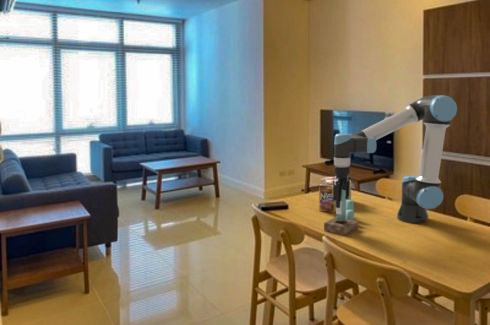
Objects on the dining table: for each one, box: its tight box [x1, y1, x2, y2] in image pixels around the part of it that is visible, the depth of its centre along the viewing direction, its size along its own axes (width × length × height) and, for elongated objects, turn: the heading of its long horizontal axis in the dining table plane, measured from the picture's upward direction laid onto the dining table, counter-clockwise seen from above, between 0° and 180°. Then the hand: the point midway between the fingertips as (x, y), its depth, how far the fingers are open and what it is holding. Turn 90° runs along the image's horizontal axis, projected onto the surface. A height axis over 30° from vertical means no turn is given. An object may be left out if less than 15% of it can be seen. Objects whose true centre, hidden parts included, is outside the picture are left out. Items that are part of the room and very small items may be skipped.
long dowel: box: [336, 190, 346, 221], centre depth 204 cm, size 4×4×15 cm
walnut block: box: [323, 216, 359, 236], centre depth 206 cm, size 12×12×4 cm
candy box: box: [318, 183, 336, 213], centre depth 237 cm, size 9×4×15 cm, turn 61°
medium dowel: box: [346, 199, 355, 210], centre depth 222 cm, size 4×4×10 cm
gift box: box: [319, 174, 353, 200], centre depth 252 cm, size 17×18×17 cm
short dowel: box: [345, 209, 355, 221], centre depth 214 cm, size 4×4×7 cm
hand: (341, 212), depth 204 cm, fingers closed on long dowel, 4 cm apart
